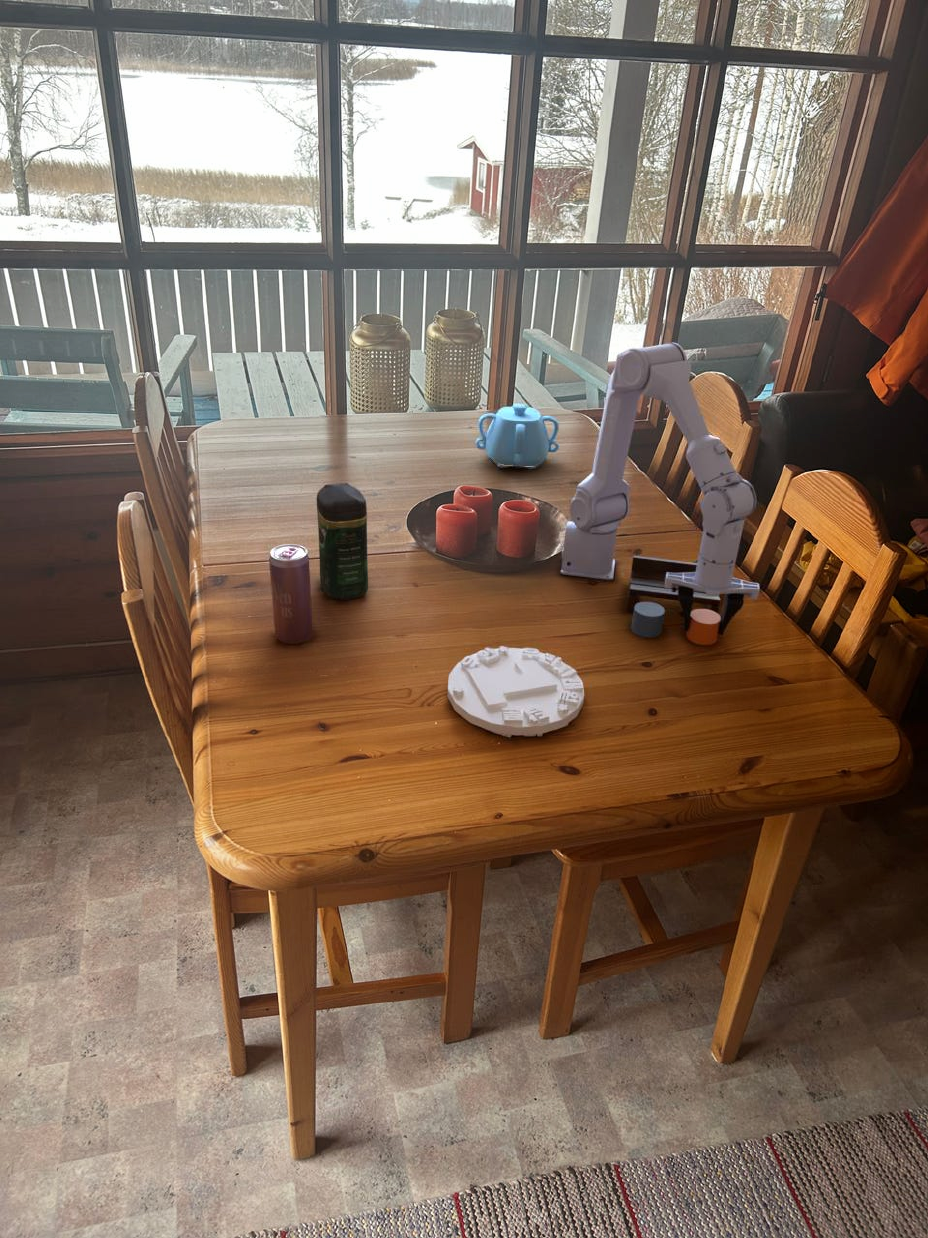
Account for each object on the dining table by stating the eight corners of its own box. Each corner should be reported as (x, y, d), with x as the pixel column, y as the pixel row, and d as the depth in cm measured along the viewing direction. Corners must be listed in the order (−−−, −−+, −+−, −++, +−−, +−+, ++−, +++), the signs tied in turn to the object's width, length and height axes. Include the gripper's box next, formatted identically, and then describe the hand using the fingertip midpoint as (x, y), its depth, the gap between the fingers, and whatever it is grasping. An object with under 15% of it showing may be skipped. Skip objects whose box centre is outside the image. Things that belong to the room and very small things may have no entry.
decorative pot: (564, 465, 215) (570, 409, 208) (512, 479, 206) (516, 420, 199) (519, 444, 226) (524, 390, 219) (468, 456, 217) (470, 400, 210)
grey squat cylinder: (630, 635, 151) (633, 614, 149) (631, 620, 155) (634, 599, 153) (661, 639, 150) (664, 618, 148) (661, 624, 154) (665, 603, 152)
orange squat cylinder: (686, 642, 149) (690, 621, 147) (685, 627, 153) (689, 606, 151) (717, 647, 149) (721, 626, 146) (716, 631, 153) (720, 610, 151)
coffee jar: (373, 598, 158) (372, 498, 148) (328, 604, 155) (323, 504, 146) (359, 572, 166) (357, 476, 156) (316, 578, 163) (311, 481, 154)
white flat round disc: (450, 656, 143) (451, 641, 141) (576, 662, 143) (578, 647, 141) (444, 736, 126) (445, 719, 124) (587, 743, 126) (590, 726, 124)
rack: (626, 612, 157) (631, 578, 154) (628, 587, 165) (633, 555, 161) (715, 623, 155) (722, 590, 152) (713, 598, 162) (720, 565, 159)
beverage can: (319, 630, 148) (315, 547, 141) (302, 648, 143) (296, 564, 136) (286, 623, 150) (280, 540, 142) (268, 641, 145) (261, 556, 137)
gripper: (670, 561, 141) (657, 636, 148) (767, 573, 139) (749, 648, 146) (670, 542, 147) (658, 614, 154) (763, 552, 145) (746, 626, 152)
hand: (702, 629), depth 150 cm, fingers closed on orange squat cylinder, 5 cm apart
